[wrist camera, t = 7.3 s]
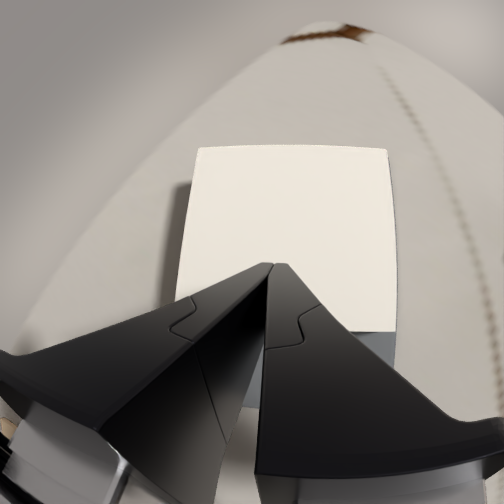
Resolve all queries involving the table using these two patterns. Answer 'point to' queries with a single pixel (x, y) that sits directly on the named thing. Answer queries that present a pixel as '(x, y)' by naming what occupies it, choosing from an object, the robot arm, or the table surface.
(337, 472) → the robot arm
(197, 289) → the tile
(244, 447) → the table surface
